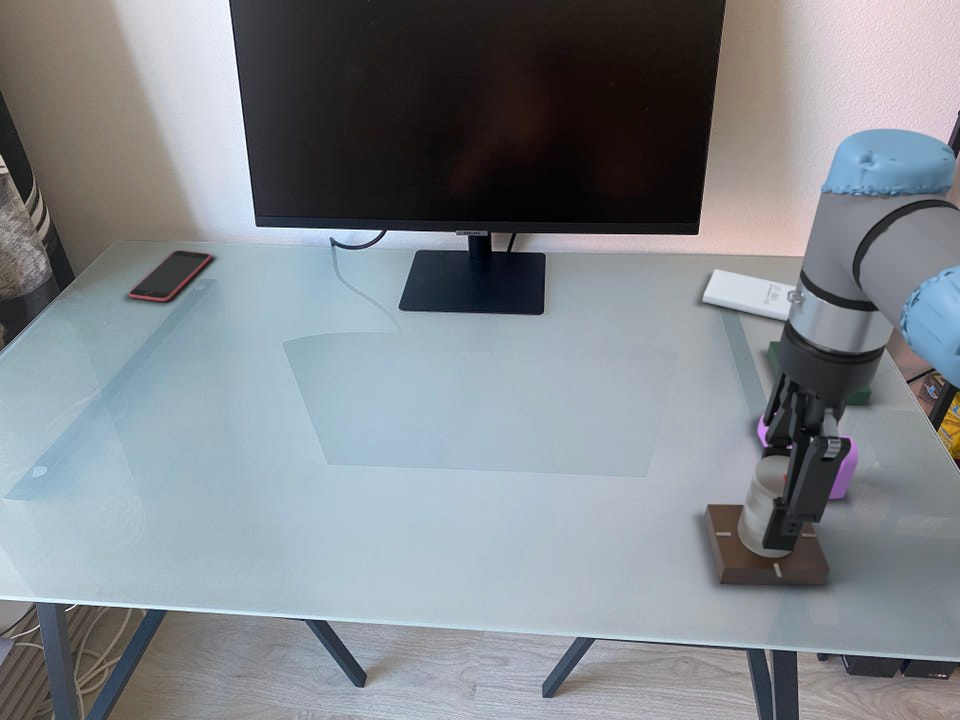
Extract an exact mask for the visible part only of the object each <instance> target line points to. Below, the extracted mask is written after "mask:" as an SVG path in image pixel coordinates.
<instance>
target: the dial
mask: <svg viewBox="0 0 960 720" xmlns="http://www.w3.org/2000/svg"><path fill="white" fill-rule="evenodd" d="M789 460H790V457H787V456H780V455H775V456H768V457H765V458H763V459H761V458H760V460H759V461H757V463H756V464H755V466H754V469H753V473H752V476H751V479H750V483H749V486H748V489H747V493H746V496H745V499H744V502H743V505H744V506H743V509H742V513H741V516H740V519H739V523H738V526H737V532H738V536H739V538H740V540H741V542H742V543H743V544H744V545H745V546H746V547H747V548H748V549H749V550H751V551H752V552H754V553H756V554H758V555H761V556H764V557H769V558H779V557H783V556H786V555H788V554H789V553H791V552H792V551H784V550H772V549H763V545H762V541H763V538H764V535H765V532H766V529H767V526H768V523H769V520H770V517H771V514H772V511H773V508H774V507H773V498H774V499H777V497H782V496H783V491H784V486H785V481H786V475H787V470H788V465H789ZM803 524H804V523H803ZM802 527H803V526H802ZM801 529H802V528H801ZM800 532H801V531H800ZM798 537H799V536H798ZM797 540H798V539H797ZM795 545H796V544H795Z"/></svg>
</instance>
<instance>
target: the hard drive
mask: <svg viewBox="0 0 960 720" xmlns="http://www.w3.org/2000/svg"><path fill="white" fill-rule="evenodd" d="M796 286H797V285H796ZM796 286H795V285H790V284H786V283H781V282H776V281H773V280H768V279H763V278H758V277H755V276H749V275H745V274H741V273H736V272H731V271H727V270H722V269H718V268H715V269H714V271H713V273H712V275H711V277H710V279H709V282H708V284H707V286H706V288H705V289H704V292H703V295H702V303H705V304H710V305H714V306H718V307H723V308H727V309H732V310H735V311H741V312H745V313H747V314H748V313H749V314H752V315H756V316H762V317H765V318H770V319H775V320H779V321H784V322H786V320H787V319H788V318H789V317H788V316H789V310H790V306H791V303H790V302H789V301H788V300H787V295H788V292H789V291H791V290H796Z"/></svg>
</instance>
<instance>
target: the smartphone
mask: <svg viewBox="0 0 960 720" xmlns="http://www.w3.org/2000/svg"><path fill="white" fill-rule="evenodd" d="M211 259H212V255H211V254H210V253H206V252H197V251H189V250H175V251H173V252H172V253H171V254H170V255H169V256H168V257H166V258H165V259H164V260H163V261H162V262H161V263H160V264H159V265H157V267H155V268H154V269H153V270H152V271H151V272H150V273H148V274H147V276H145V278H143V279H142V280H141V281H140V282H139V283H138V284H136V285H135V287H134V288H132V289H131V290H130V291H129V292H128V295H129V297H130V298H132V299H137V300H147V301H153V302H154V301H155V302H168V301H170V300H171V299H172V298H173V297H174V296H175V295H176V294H177V293H178V292H179V291H180V290H181V289H182V288H183V287H184V286H185V285H186V284H187V283H188V282H189V281H190V280H191V279H192V278H193V277H194V276H195V275H196V274H197V273H198V272H199V271H200V270H201V269H202V268H203V267H204V266H205V265H206V264H207V263H208V262H209V261H210V260H211Z"/></svg>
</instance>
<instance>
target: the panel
mask: <svg viewBox="0 0 960 720" xmlns="http://www.w3.org/2000/svg"><path fill="white" fill-rule="evenodd" d="M743 506H744V504H729V503H728V504H723V503H721V504H717V503H715V504H714V503H713V504H712V503H708V504H707V505H706V509H705V513H704V516H703V523H704V527H705V531H706V536H707V539H708V543H709V547H710V550H711V554H712V558H713V562H714V567H715V570H716V574H717V578H718V582H719V584H723V585H725V584H728V585H729V584H732V585H787V586H788V585H789V586H795V585H796V586H824V585H825V582H826V579H827V577H828V575H829V572H830V566H829V565H828V561H827V559H826V556H825V554H824V551H823V549H822V547H821V544H820V541H819V539H818V536H817V533H816V531H815V528H814V526H813V523H811V522H804V524H803V527H802V529H801V532H800V534H799V537H798V540H797V542H796V545H795V547H794V550H793V551H792V552H791V553H789V554H788V555H786V556H783V557H779V558H769V557H764V556H761V555H758V554H756V553H754V552H752V551H751V550H749V549H748V548H747V547H746V546H745V545H744V544H743V543H742V542H741V540H740V538H739V536H738V532H737V526H738V523H739V519H740V516H741V513H742V509H743Z"/></svg>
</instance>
